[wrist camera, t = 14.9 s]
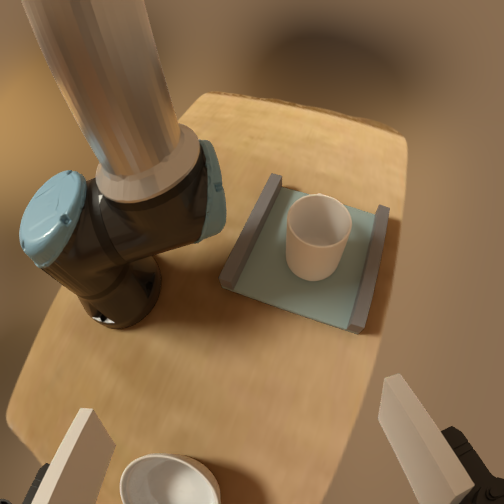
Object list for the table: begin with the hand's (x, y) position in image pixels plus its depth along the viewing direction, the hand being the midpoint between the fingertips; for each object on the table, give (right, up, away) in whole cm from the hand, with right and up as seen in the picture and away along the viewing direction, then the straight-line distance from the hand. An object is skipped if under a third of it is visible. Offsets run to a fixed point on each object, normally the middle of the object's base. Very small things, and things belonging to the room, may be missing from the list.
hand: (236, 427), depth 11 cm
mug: (+11, +8, +37) cm, 39 cm away
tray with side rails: (+10, +8, +38) cm, 40 cm away
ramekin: (-9, -26, +21) cm, 35 cm away
